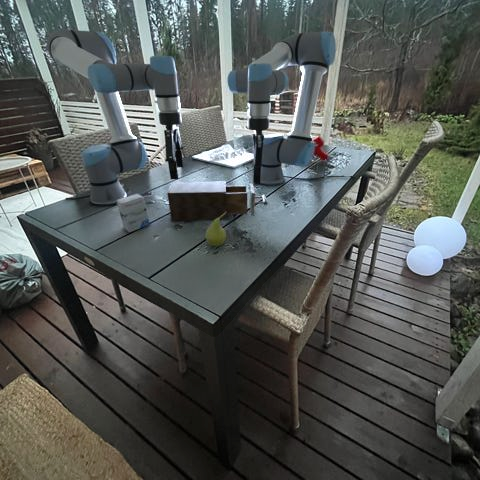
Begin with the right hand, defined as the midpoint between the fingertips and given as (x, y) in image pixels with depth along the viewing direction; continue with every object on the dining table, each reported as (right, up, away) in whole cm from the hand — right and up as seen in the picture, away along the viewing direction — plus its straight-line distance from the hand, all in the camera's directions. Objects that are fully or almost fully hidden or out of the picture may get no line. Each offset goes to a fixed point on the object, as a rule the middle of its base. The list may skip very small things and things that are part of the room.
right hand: (256, 182), depth 106 cm
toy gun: (+39, +29, +69) cm, 84 cm away
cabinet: (-23, -12, +7) cm, 27 cm away
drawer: (-9, -11, +6) cm, 15 cm away
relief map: (-16, +32, +74) cm, 83 cm away
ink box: (-46, -18, -2) cm, 49 cm away
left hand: (-30, +3, -3) cm, 31 cm away
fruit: (-14, -24, -13) cm, 31 cm away
